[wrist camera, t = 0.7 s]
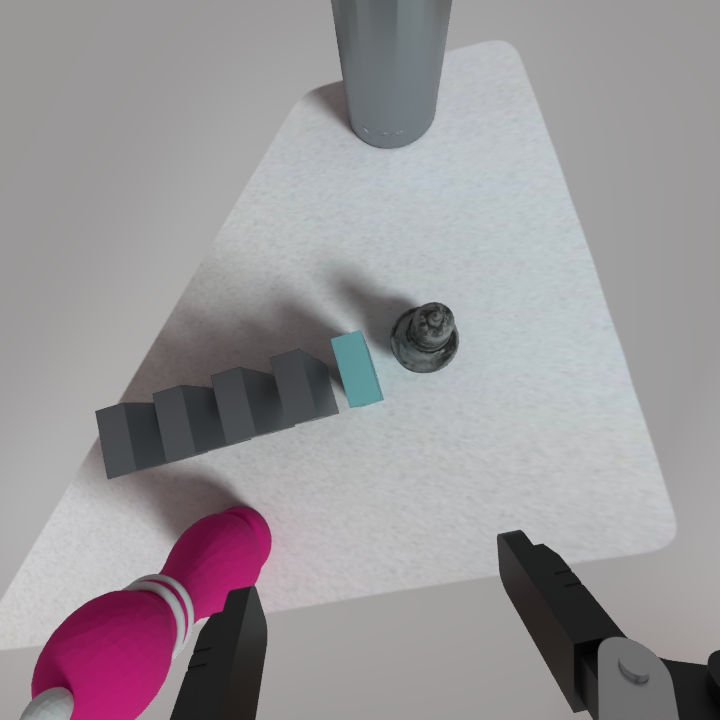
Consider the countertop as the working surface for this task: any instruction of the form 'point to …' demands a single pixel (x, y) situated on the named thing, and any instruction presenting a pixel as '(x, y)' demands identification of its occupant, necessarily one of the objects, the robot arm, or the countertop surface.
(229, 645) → the robot arm
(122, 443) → the domino
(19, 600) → the countertop surface
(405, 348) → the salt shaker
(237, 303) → the countertop surface
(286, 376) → the domino
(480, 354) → the countertop surface
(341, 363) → the domino
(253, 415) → the domino
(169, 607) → the pepper mill
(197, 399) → the domino
